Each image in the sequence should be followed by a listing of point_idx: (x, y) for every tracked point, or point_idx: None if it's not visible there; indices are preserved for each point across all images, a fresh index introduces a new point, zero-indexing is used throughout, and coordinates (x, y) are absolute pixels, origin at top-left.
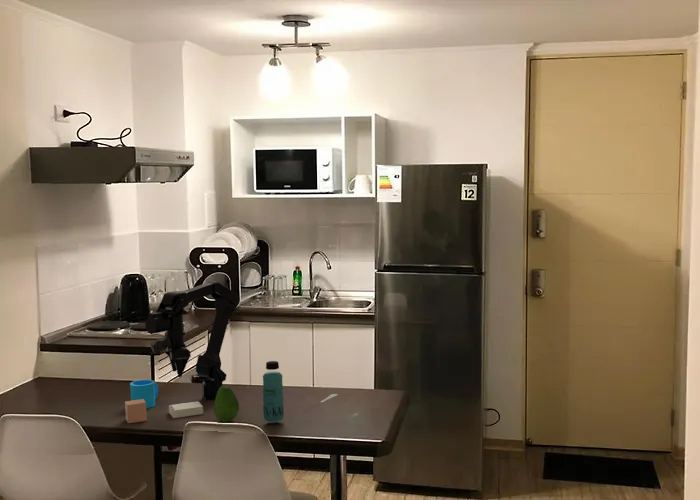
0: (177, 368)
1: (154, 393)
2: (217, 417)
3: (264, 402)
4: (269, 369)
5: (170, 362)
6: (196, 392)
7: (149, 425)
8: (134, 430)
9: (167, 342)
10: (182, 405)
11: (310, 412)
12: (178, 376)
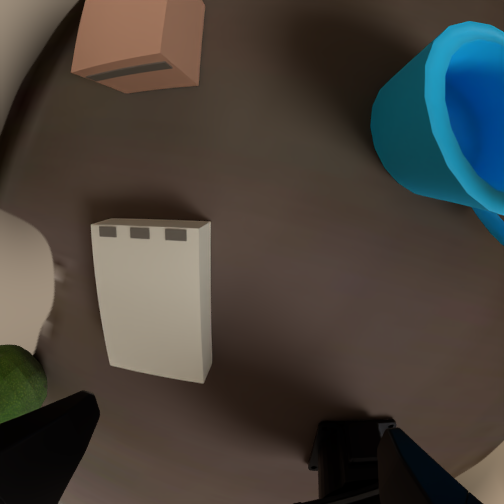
0: (3, 430)
1: (439, 196)
2: (9, 345)
3: None
4: None
5: (459, 487)
6: (463, 403)
7: (67, 105)
8: (49, 53)
9: None
10: (159, 297)
11: (81, 494)
12: (79, 393)
